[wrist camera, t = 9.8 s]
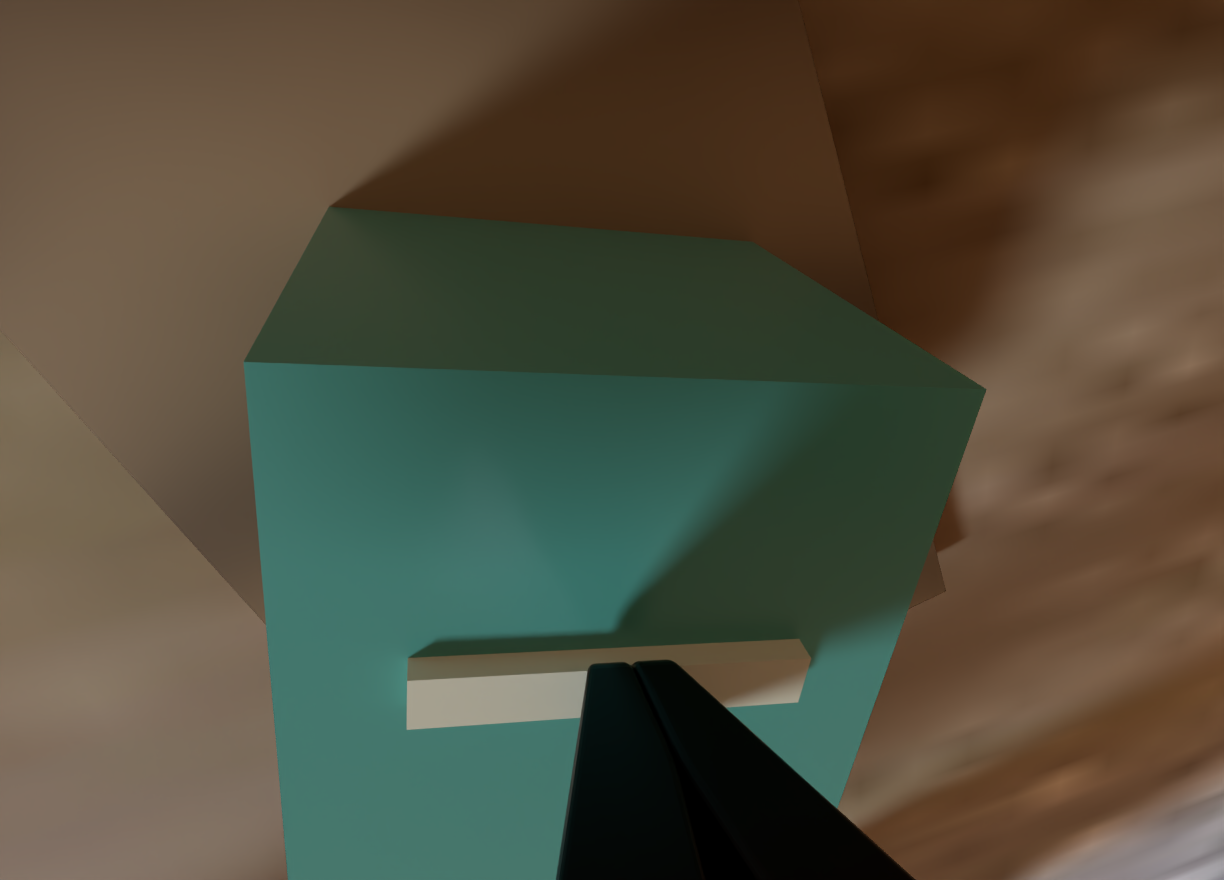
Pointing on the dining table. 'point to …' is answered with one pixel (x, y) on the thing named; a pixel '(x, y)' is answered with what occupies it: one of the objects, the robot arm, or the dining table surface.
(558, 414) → the teal drawer cube
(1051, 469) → the dining table surface
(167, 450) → the keyed post base
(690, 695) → the robot arm
